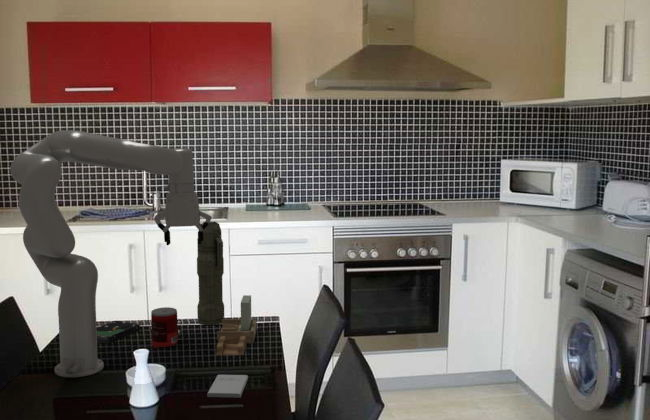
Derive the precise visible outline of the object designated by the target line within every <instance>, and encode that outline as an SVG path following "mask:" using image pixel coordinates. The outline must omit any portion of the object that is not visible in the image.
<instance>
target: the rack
mask: <svg viewBox="0 0 650 420" xmlns="http://www.w3.org/2000/svg"><path fill="white" fill-rule="evenodd" d="M221 324H222V325H221V326H223V324H236V325H238V330H237V331H222V329H221V330H217V331H216V343H217V344H218V342H219V339H220V337H221V336H226V344H238V343H239V340H240V337H241V336H246V344H254V343H255V338H256V334H257V327H258V326H257V318H251V330H250V331H241V318H224V319H222V323H221ZM217 344H216V345H217Z"/></svg>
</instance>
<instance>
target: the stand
mask: <svg viewBox="0 0 650 420" xmlns="http://www.w3.org/2000/svg"><path fill="white" fill-rule="evenodd" d="M246 348H247V343H246V336H241V337H240V340H239V343H226V336H221V337H220V339H219V342H218V344H216V354H215V356H244V355H245V351H246Z"/></svg>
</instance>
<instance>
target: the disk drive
mask: <svg viewBox="0 0 650 420" xmlns="http://www.w3.org/2000/svg"><path fill="white" fill-rule="evenodd" d="M96 329H97V343H103V344H111V343H113V342H116V341H118V340H121V339H124V338H126V337H128V336H131V335H134V334H136V333H138V332H140V331H141V324H139V323H132V322H127V321H126V322H122V321H120V320H112V321H111V322H108V323H106V324H105V323H104V324H103V325H99V326H96Z"/></svg>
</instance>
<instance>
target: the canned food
mask: <svg viewBox="0 0 650 420" xmlns="http://www.w3.org/2000/svg"><path fill="white" fill-rule="evenodd" d="M150 312H151V313H150V314H151V316H150V318H151V319H150V320H151V321H150V322H151V323H150V324H151V345H152V348H153V349H157V347H159V348H167V347H172V346H175V345H176V344H178V342H179V340H178V310H177V309H176V308H175V307H169V306H168V307H167V306H166V307H158V308H154V309H153V310H151V311H150Z"/></svg>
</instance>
